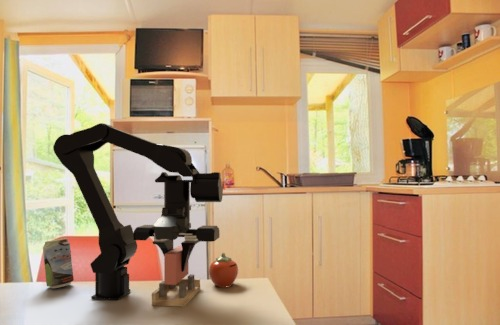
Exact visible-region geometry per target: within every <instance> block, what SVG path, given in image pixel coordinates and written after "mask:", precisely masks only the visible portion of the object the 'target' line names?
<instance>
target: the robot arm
mask: <svg viewBox="0 0 500 325" xmlns="http://www.w3.org/2000/svg"><path fill="white" fill-rule="evenodd" d="M106 144H111V145H113V146H116V147H118V148H121V149H124V150H126V151H129V152H132V153H134V154H137V155H139V156H142V157H144V158H147V159H148V160H150V161H151V162H153V163H154V164H156V165H157V166H158V167H160V168H162V169H164V170H165V171H167V172H169V173H175V175H173V174H171V175H169V174H168V173H167V172H163V171H162V172H161V173H160V175H159V176H158V177H157V178H155V179H154V182H155V183H163V184H164V187H163V188H164V189H163V190H164V194H163V196H164V198H163V199H164V200H163V201H164V204H163V207H161V208H162V209H161V216H160V217H159V218H158V219H157V220H156V221H155V222H154V223H153V224H143V225H139V226H137V227H136V228H134V231H133V227H132V225H131V224H127V225H125V226H124V225H123V224H122V223H121V221H119V219H118V216H117V215H116V213H115V211H114V208H113V206H112V204H111V201H110V199H109V198H108V195H107V193H106V191H105V189H104V186H103V184H102V182H101V180H100V178H99V176H98V173H97V172H96V169H95V153H94V152H95V151H97V150H100V149H101V148H103V147H104V146H105V145H106ZM52 147H53V153H54V154H55V155H56V157H57V159H58V160H59V161H60V163H61V164H62V165H63V166H64V167H65V169H67V170H68V171H69V172H70V173H71V174H72V175H73V177H74V180H75V181H76V184H77V186H78V188H79V190H80V192H81V195H82V196H83V198H84V201H85V203H86V206H87V208H88V209H89V212H90V214H91V216H92V218H93V221H94V222H95V225H96V227H97V230H98V248H99V250H100V253H99V254H98V256H96V258H95V259H94V260H93V261H92V262H90V267H91V271H92V273H93V274H94V275H95V280H94V281H95V286H94V288H95V293H94V294H93V295H92V296H90V297H91V298H90V299H92V300H111V301H115V300H116V301H117V300H120V299H122V298H123V297H124V296H126V295H127V294H129V293H130V292H131V289H130V274H129V273H128V267H127V265H129V263H130V260H131V258H132V257H134V256H135V254H136V253H137V250H138V244H137V243H138V242H137V241H147V240H148V239H149V238H150V237H153V241H152V245H157V246H158V248H159V249H160V250H161V252H162V255H163V256H164V254H165V253H167V252H169V251H171V250H172V249H174V240H177V239H178V238H184V241H182V242H181V243H180V244H181V245H180V246H182V262H181V269H182V272H183V271H185V268H186V265H187V263H188V264H189V260H190V258H191V257H190V256H191V254H192V252H193V249H194V248H195V246H196V245H197V244H198V243H200V242H204V243H205V242H216V241H217V240H218V239H219V238H220V228H219V227H218V225H201V226H199V227H197V228H192V223H191V222H190V220H191V217H190V216H191V215H190V213H191V212H190V211H192V205H191V204H190V202H191V201H190V199H191V198H192V199H194V200H195V202H196V203H222V201H223V192H224V190H223V189H224V188H223V187H224V186H223V184H222V178H221V172H220V171H219V172H218V171H217V172H216V171H215V172H211V173H207V172H206V173H202V172H201V173H200V172H199V170H198V169H197V167H196V166H195V165H194V164H193V163H192V162H193V159H192V155H191V153H190V152H189V151H188V150H186V149H184V148H180V147H177V146H172V145H166V144H160V143H156V142H155V143H154V142H152V141H149V140H147V139H144V138H141V137H139V136H137V135H135V134H134V135H133V134H131V133H130V132H129V133H128V132H126V131H123V130H120V129H118V128H116V127H114V126H113V125H110V124H106V123H97V124H95V125H93V126H91V127H88V128H85V129H84V128H83V129H82V130H78V131H74V132H73V133H71V134H62V135H60V136H58V137H57V138H56V140H55V142H54V144H53V146H52ZM177 174H178V175H177ZM182 177H183V178H185V177H191V178H192V179H183V178H182ZM190 197H191V198H190Z"/></svg>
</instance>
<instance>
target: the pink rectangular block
mask: <svg viewBox="0 0 500 325" xmlns="http://www.w3.org/2000/svg"><path fill="white" fill-rule="evenodd" d="M163 257H164V259H163V260H164V263H163V264H164V270H163V271H164V280H163V281H164V284H169V285H176V284H177V283H178V282H179V281H181V280H182V279H183V278H186V276H189V262H188V263H187V265H186V268H185V271H183V272H182V269H181V262H182V245H179V246H177V247H173V249H172V250H171V251H169V252H167V253H165V254H164V255H163Z"/></svg>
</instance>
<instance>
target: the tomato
mask: <svg viewBox="0 0 500 325" xmlns="http://www.w3.org/2000/svg"><path fill="white" fill-rule="evenodd" d="M238 274H239V266H238V264H237V263H236V261H234V260H232V258H231V257H229V256H226V253H224V252H222V253H221V255H220V256H219V257H216V258H215V260H213V261H212V262H211V263H210V265H209V267H208V275H209V278H210V280H211V281H212V283H213V284H214V286H216V287H218V286H219V288H227V287H226V286H229V287H231V286H232V285H233V284H234V283H235V281H236V279H237V277H238ZM230 285H231V286H230Z"/></svg>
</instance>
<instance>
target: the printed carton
mask: <svg viewBox="0 0 500 325" xmlns="http://www.w3.org/2000/svg"><path fill="white" fill-rule="evenodd" d="M42 253H43V263H44V264H43V265H44V270H45V271H44V272H45V281H46V287H49V288H50V289H57V288H62V287H66V286H68V285H69V286H70V285H71V284H72V283H73V282H74V271H73V270H74V269H73V262H72V251H71V244H70V241H69V240H68V239H67V237H64V238H58V239H57V238H56V239H53V240H52V239H51V240H47V241H45V242H44V245H43V246H42Z"/></svg>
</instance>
